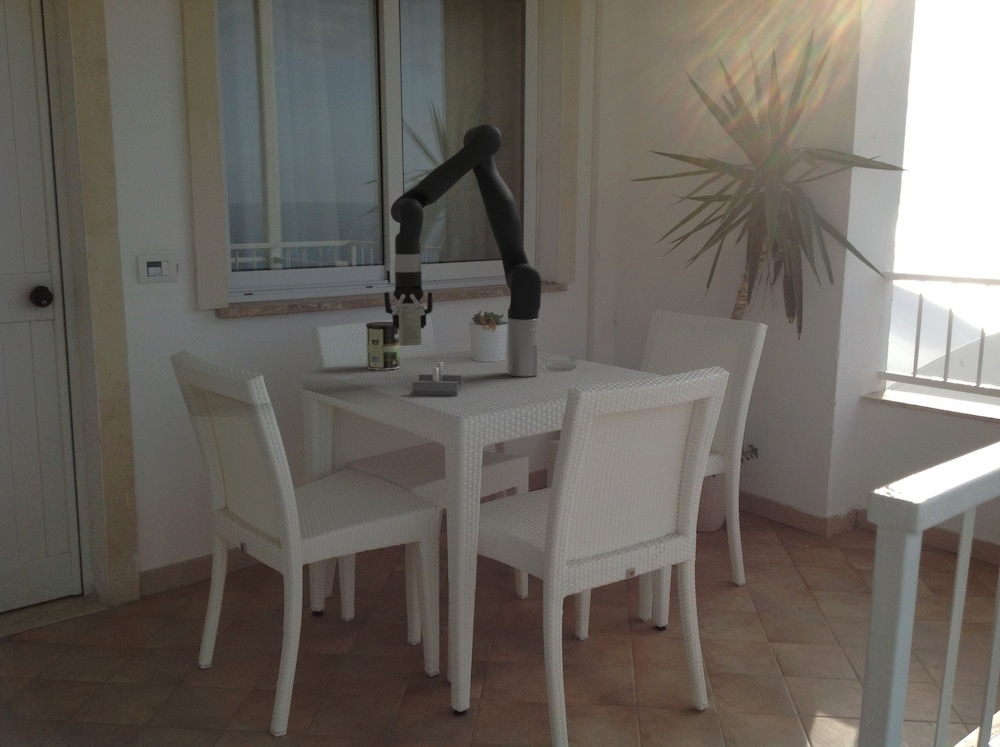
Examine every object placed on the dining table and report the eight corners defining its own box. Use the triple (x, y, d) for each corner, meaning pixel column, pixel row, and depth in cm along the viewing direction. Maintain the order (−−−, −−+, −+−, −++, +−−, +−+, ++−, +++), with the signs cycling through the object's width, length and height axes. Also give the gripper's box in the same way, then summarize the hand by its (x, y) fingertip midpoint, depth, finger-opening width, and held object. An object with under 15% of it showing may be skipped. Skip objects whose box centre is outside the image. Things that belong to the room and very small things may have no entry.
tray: (461, 387, 266) (461, 362, 265) (457, 395, 254) (457, 369, 253) (419, 386, 267) (419, 361, 266) (412, 394, 255) (412, 368, 254)
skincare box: (420, 343, 274) (419, 301, 271) (421, 345, 269) (420, 303, 267) (398, 343, 273) (397, 301, 270) (399, 346, 268) (398, 303, 266)
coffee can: (400, 365, 302) (399, 321, 299) (399, 370, 292) (398, 325, 289) (367, 365, 301) (367, 321, 299) (365, 370, 291) (364, 325, 288)
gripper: (435, 269, 270) (436, 326, 273) (385, 269, 271) (387, 326, 274) (431, 270, 263) (432, 329, 266) (380, 271, 264) (382, 329, 267)
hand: (409, 327), depth 270 cm, fingers closed on skincare box, 7 cm apart
